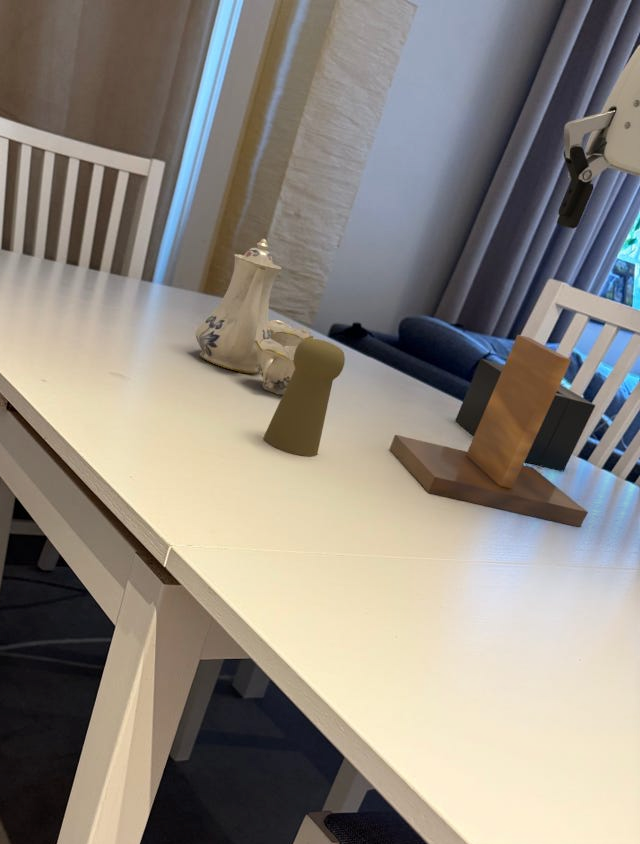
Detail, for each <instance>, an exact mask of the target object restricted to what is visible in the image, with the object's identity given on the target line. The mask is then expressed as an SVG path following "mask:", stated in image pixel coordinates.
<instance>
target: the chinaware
mask: <svg viewBox="0 0 640 844" xmlns="http://www.w3.org/2000/svg"><path fill="white" fill-rule="evenodd" d="M267 243H268V242H267V240H266V239H265V238H262V239H260V241H259V242H257V243H256V246H257V247H251V248H249V249H248V250H247V251H246V252H245V254H244V255H243V254H236V253H235V254H233V256H234V267H233V272H232V276H231V278H230V283H229V285H228V287H227V290H226V292H225V293H224V296H223V298H222V299H221V301H220V302H219V304H218V306H217V307H216V308H215V309H214V311H212V312H211V314H210V315H209V316H208V317H207V318H205V320H203V321H202V322H201V323H200V324H199V326H198V327H197V329H196V331H195V338H196V341H197V343H198V345H199V347H200V349H201V352H200V353H199V357H200V356H201V357H202V358H204V359H205V360H207V361H209V362H211V363H213V364H212V365H214V364H216V365H218V366H217V367H219V366H221V367H220V368H222V367H223V368H222V369H225V368H227V369H226V370H228V369H231V370H230V371H232V370H235V371H234V372H236V371H238V372H237V373H242V372H243V374H250V373H251V375H253V374H258V373H259V374H260V376H261V377H262V379H261V380H262V383H263V384H262V388H263V389H264V390H266V391H268V392H271V393H274V394H276V395H282V396H283V394H284V392H285V390H286V388H287V385H288V383H289V381H290V379H291V377H292V375H293V372H294V370H295V366H294V362H293V361H294V353H295V350H296V348H297V346H298V344H299V343H300V342H301V341H303V340H305V339H314V336H313V335H311V332H310V331H309V330H308V329H306V328H302V327H298V328H297V327H296V328H294V327H292V326H290V325H289V324H288V323H286V322H284V321H282V320H280V319H279V320H277V319H272V320H269V305H270V298H271V292H272V289H273V286H274V283H275V280H276V278H277V277H278V274H279V272H280V271H281V270H282V268H283V267H281V266H279V265H276V264H275V263H274V259H273V256H272V254H271V252H269V251H268V250H267V249H268V248H269V245H268V244H267ZM201 357H200V358H201ZM202 358H201V359H202ZM204 359H203V360H204ZM205 360H204V361H205ZM207 361H206V362H207ZM209 362H208V363H209ZM211 363H210V364H211ZM216 365H215V366H216Z"/></svg>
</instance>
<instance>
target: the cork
mask: <svg viewBox="0 0 640 844" xmlns="http://www.w3.org/2000/svg"><path fill="white" fill-rule="evenodd" d="M345 361H346V357H345V352H344V351H343V349H342V348H340V346H338V345H336V344H334V343H333V342H329V341H326V340H323V339H319V338H318V339H317V338H313V339H305V340H303V341H301V342H300V343H299V344H298V346H297V348H296V350H295V353H294V361H293V362H294V366H295V370H294V372H293V375H292V377H291V379H290V381H289V383H288V385H287V388H285V389H286V390H285V392H284V394H283V395H282V396H281V398H280V401H279V403H278V405H277V407H276V409H275V411H274V414H273V415H272V418H271V420H270V422H269V424H268V427H267V429H266V431H265V433H264V435H263V440H264V441H265V442H266V443H268V444H269V445H270V446H272V447H274V448H277V449H279V450H281V451H284V452H287V453H290V454H294V455H297V456H302V457H303V456H304V457H315V456H317V455H318V452H319V448H320V444H321V440H322V434H323V429H324V424H325V420H326V416H327V410H328V406H329V402H330V396H331V391H332V386H333V382H334V380H335V379H336V378H338V377H340V375H341V373H342V372H343V369H344V367H345Z"/></svg>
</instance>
